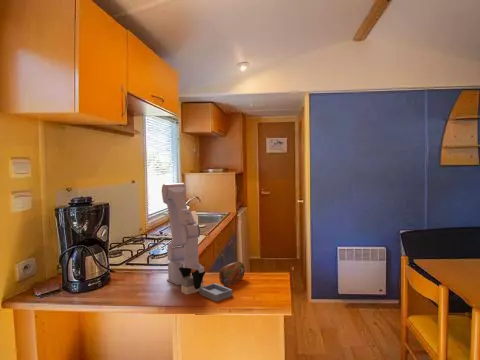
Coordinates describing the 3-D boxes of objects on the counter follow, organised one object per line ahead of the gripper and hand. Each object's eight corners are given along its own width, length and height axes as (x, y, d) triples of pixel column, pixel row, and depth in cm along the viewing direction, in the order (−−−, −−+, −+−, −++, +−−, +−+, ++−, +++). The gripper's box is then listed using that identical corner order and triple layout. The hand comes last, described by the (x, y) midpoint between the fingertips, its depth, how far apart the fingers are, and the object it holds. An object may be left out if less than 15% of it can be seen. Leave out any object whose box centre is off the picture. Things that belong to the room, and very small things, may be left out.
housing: (181, 292, 142) (181, 277, 142) (197, 287, 147) (197, 273, 147) (186, 294, 139) (186, 280, 139) (203, 289, 144) (202, 275, 144)
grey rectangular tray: (199, 294, 139) (199, 287, 139) (215, 288, 145) (215, 283, 145) (216, 301, 131) (216, 295, 131) (232, 295, 136) (232, 289, 136)
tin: (223, 288, 145) (223, 268, 145) (218, 287, 147) (217, 267, 147) (245, 278, 157) (244, 260, 157) (239, 277, 159) (239, 259, 159)
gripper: (173, 252, 145) (174, 284, 146) (193, 258, 134) (194, 293, 135) (187, 249, 150) (188, 280, 150) (207, 255, 139) (208, 288, 140)
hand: (192, 286), depth 143 cm, fingers open, 7 cm apart
